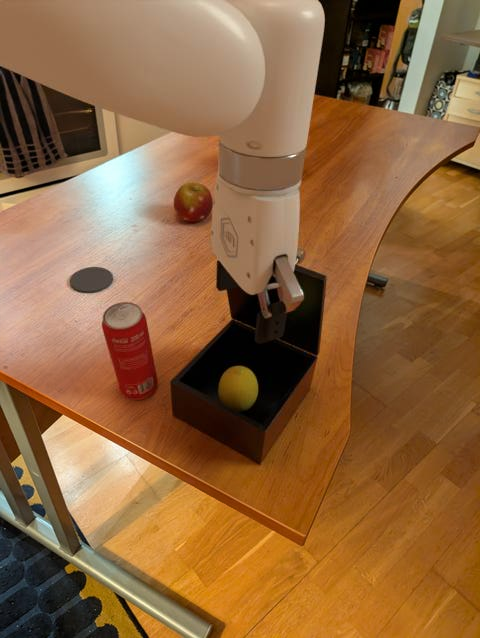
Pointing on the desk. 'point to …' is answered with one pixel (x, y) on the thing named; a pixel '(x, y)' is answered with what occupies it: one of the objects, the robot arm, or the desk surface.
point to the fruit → (193, 202)
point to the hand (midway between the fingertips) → (247, 311)
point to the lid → (300, 323)
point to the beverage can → (130, 349)
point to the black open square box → (273, 389)
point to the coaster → (91, 279)
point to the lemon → (238, 388)
